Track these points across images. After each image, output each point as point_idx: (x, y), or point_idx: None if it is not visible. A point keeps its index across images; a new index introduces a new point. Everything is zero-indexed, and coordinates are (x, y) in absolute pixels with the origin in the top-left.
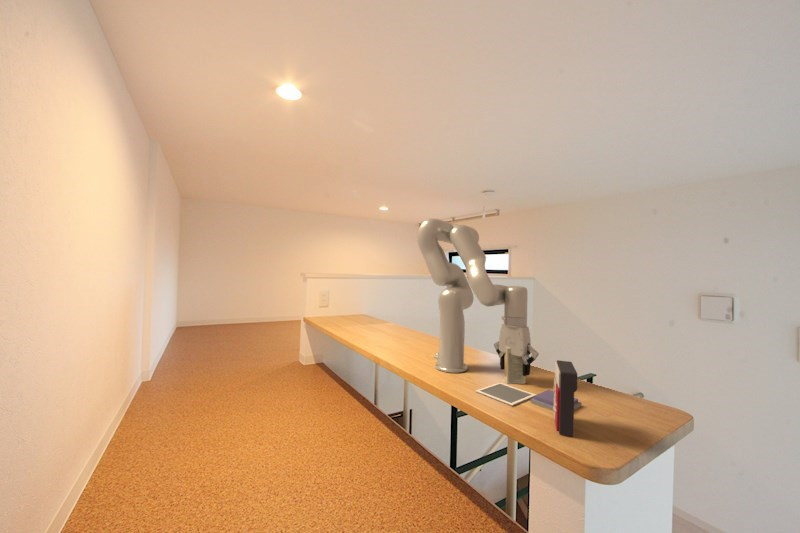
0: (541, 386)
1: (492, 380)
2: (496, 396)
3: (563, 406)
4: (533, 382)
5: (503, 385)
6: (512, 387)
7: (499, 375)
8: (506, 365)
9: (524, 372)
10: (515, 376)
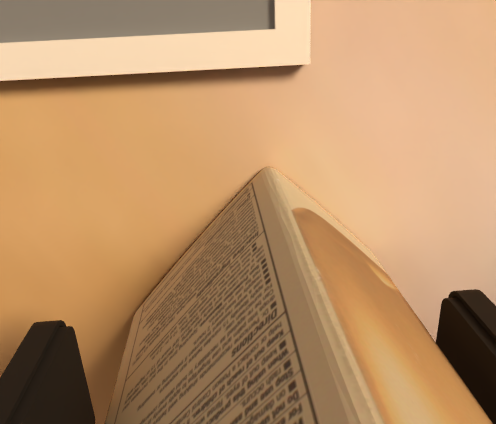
0: None
1: (448, 85)
2: None
3: None
4: None
5: (218, 15)
6: (81, 42)
7: None
8: (343, 292)
9: (12, 358)
10: (195, 279)
